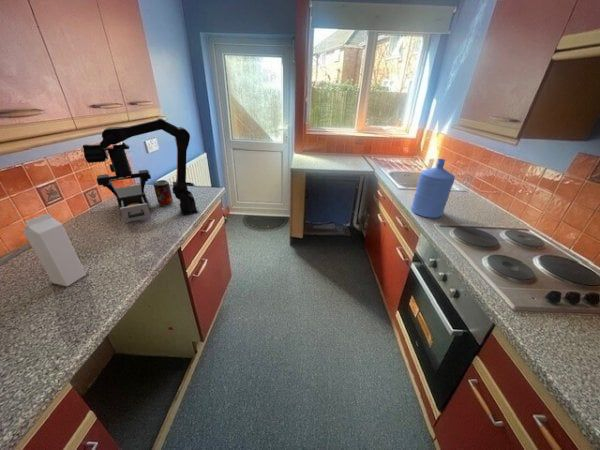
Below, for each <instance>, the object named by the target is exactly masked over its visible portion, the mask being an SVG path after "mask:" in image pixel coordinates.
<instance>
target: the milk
mask: <svg viewBox="0 0 600 450" xmlns="http://www.w3.org/2000/svg"><path fill="white" fill-rule="evenodd" d="M24 224H25V225H26V227H25V228H24V229H23V230H22V232H23V234H24V236H25V237H26V238H25V239H27V241H28V243H29V245H30V246H31V249H32V250H33V251H34V253H35V255H36V257H37V258H38V261H39V262H40V264H41V265H42V267H43V269H44V271H45V272H46V274H47V276H48V278H49V279H50V281H51V283H52V284H55V285H58V286H63V287H69V286H71V285H73V284H74V283H76V282H77V281H78V280H80V279H82V278H83V277H85V276H86V275H87V273H86V271H85V269H84V267H83V265H82V263H81V261H80V259H79V256H78V255H77V253H76V250H75V248H74V247H73V244H72V242H71V240H70V238H69V236H68V233H67V231H66V229H65V228H64V225H63V223H61V222H60V221H58V220H57V219H55V218H54V217H52V215H51V213H50V212H47V213H45V214H41V215H39V216H36V217H34V218H33V217H32V218H31V219H28V220H25V222H24Z"/></svg>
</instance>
